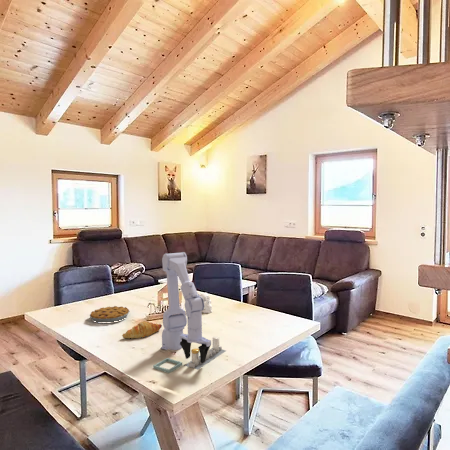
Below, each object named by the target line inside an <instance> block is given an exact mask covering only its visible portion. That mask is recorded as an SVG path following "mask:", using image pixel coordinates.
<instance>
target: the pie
mask: <svg viewBox="0 0 450 450" xmlns="http://www.w3.org/2000/svg"><path fill="white" fill-rule="evenodd" d="M129 313H130V309H129V308H127V306H125V307H123V306H116V305H114V306H107V307H100V308H98V309H94V311H91V312H90V314H89V317H90V318H91V320H92V321H96V322H114V321H119V320H122V319H124V318H127V317H128V314H129ZM124 320H125V319H124ZM122 321H123V320H122ZM96 322H95V323H96ZM119 322H120V321H119Z"/></svg>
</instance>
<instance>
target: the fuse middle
mask: <svg viewBox="0 0 450 450" xmlns="http://www.w3.org/2000/svg"><path fill="white" fill-rule="evenodd" d="M210 349H211V348H209V350H208V352H207V355H206V359H209V358H210Z"/></svg>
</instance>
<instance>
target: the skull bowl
mask: <svg viewBox="0 0 450 450" xmlns="http://www.w3.org/2000/svg"><path fill="white" fill-rule="evenodd" d="M199 295H200V296H201V297H202V298H203V301H204V309H203V311H202V313H204V314H210V313H213V310H212V309H213V305H212V300H211V298H210V297H209V295H208V292H202V293H200V294H199Z"/></svg>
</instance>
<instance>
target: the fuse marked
mask: <svg viewBox="0 0 450 450" xmlns="http://www.w3.org/2000/svg"><path fill="white" fill-rule="evenodd" d="M190 354H191V361H192V363H195V366H198V365H199V356H200V351H199V348H191V349H190Z"/></svg>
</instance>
